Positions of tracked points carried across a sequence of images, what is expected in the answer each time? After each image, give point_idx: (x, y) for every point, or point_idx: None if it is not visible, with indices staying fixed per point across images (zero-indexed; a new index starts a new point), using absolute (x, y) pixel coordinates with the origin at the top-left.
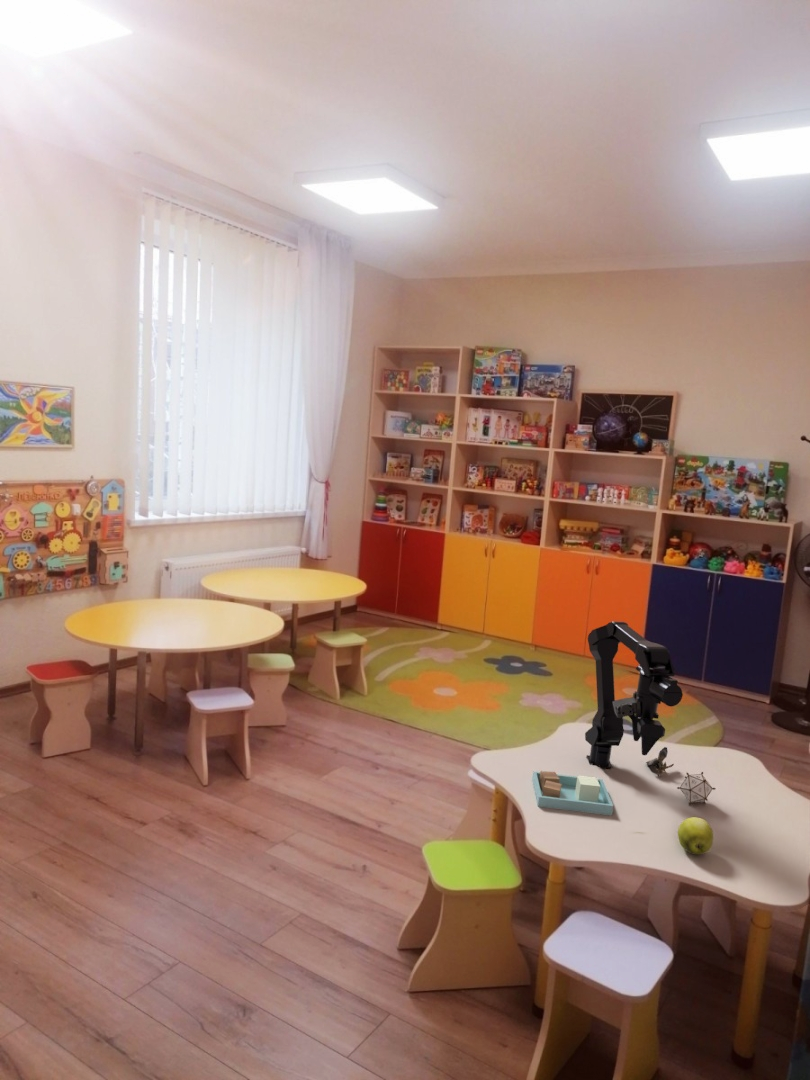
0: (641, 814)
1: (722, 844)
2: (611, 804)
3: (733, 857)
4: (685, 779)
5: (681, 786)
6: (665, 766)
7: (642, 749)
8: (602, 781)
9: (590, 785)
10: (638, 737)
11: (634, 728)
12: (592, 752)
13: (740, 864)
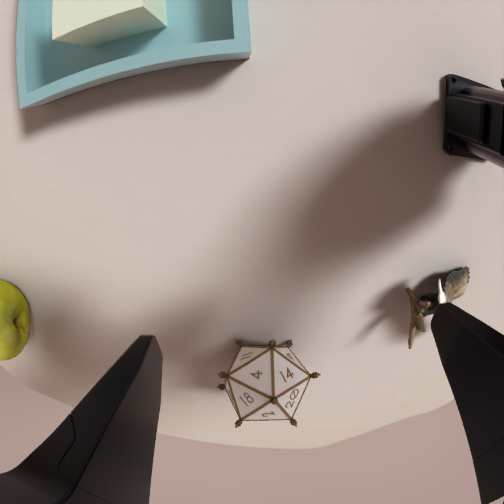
0: (105, 200)
1: (78, 353)
2: (26, 101)
3: (47, 353)
4: (271, 381)
5: (269, 355)
6: (414, 323)
7: (106, 372)
8: (227, 49)
9: (53, 1)
10: (442, 347)
11: (502, 370)
12: (492, 90)
13: (35, 354)
